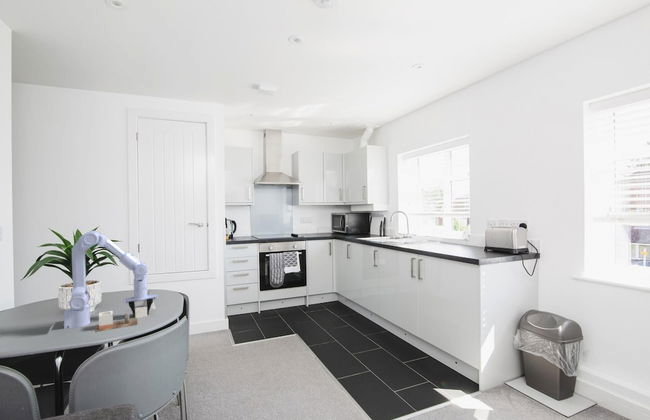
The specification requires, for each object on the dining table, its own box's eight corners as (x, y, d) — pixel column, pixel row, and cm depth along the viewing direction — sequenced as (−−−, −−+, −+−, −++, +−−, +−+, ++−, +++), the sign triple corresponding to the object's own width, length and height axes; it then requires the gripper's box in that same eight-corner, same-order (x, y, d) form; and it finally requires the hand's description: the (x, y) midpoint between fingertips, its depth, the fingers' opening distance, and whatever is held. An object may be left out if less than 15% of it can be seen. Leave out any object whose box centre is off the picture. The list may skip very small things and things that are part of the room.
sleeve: (135, 321, 157) (135, 308, 157) (134, 318, 161) (134, 305, 161) (147, 319, 160) (147, 306, 159) (146, 316, 164) (146, 304, 164)
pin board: (94, 335, 140) (94, 322, 140) (95, 328, 148) (95, 316, 148) (137, 327, 148) (137, 315, 148) (136, 321, 157) (136, 309, 157)
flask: (149, 313, 168) (149, 293, 168) (137, 312, 170) (136, 293, 170) (159, 308, 175) (158, 290, 175) (147, 308, 177) (147, 289, 177)
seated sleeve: (99, 329, 143) (98, 315, 142) (99, 325, 147) (99, 312, 147) (112, 327, 145) (112, 313, 145) (112, 323, 149) (112, 310, 149)
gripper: (123, 292, 153) (123, 321, 153) (158, 287, 160) (158, 315, 161) (123, 288, 159) (123, 316, 159) (156, 284, 166) (156, 311, 167)
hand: (141, 315), depth 160 cm, fingers closed on sleeve, 5 cm apart
